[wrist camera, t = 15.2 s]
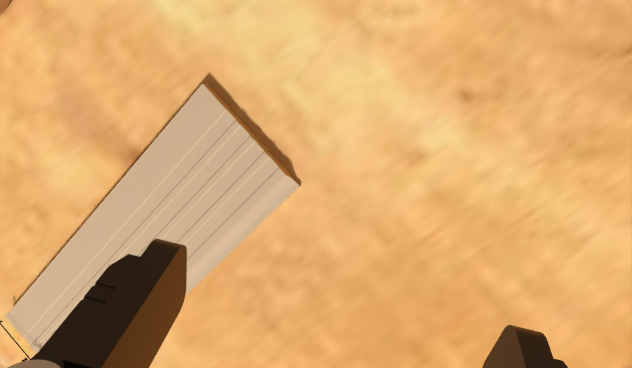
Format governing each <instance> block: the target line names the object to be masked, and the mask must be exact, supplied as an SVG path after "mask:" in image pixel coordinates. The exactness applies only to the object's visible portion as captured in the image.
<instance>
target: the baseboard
mask: <svg viewBox="0 0 632 368" xmlns="http://www.w3.org/2000/svg"><path fill="white" fill-rule="evenodd" d="M300 186H301V185H300V184H299V183H298V182H297V181H296V180H295V179H294V178H293V177H292V175H291V174H290V173H289V172H288V171H287V170H286V169H285V168H284V167H283V166H282V165H281V163H280V162H279V161H278V160H277V159H276V158H275V157H274V156H273V155H272V154H271V152H270V151H269V150H268V149H267V148H266V147H265V146H264V145H263V144H262V143H261V142H260V140H259V139H258V138H257V137H256V136H255V135H254V134H253V133H252V132H251V131H250V129H249V128H248V127H247V126H246V125H245V124H244V123H243V122H242V121H241V120H240V118H239V117H238V116H237V115H236V114H235V113H234V112H233V111H232V110H231V109H230V108H229V106H228V105H227V104H226V103H225V102H224V101H223V100H222V99H221V98H220V97H219V95H218V94H217V93H216V92H215V91H214V90H213V89H212V88H211V87H210V86H209V85H208V84H203V83H202V85H201V86H200V87H199V88H198V89H197V91H196V92H195V93H194V94H193V95H192V96H191V98H190V99H189V100H188V101H187V102H186V104H185V105H184V106H183V107H182V108H181V109H180V111H179V112H178V113H177V114H176V115H175V117H174V118H173V119H172V120H171V121H170V123H169V124H168V125H167V126H166V127H165V128H164V130H163V131H162V132H161V133H160V134H159V136H158V137H157V138H156V139H155V140H154V141H153V143H152V144H151V145H150V146H149V147H148V149H147V150H146V151H145V152H144V153H143V154H142V156H141V157H140V158H139V159H138V160H137V162H136V163H135V164H134V165H133V166H132V167H131V169H130V170H129V171H128V172H127V173H126V175H125V176H124V177H123V178H122V179H121V180H120V182H119V183H118V184H117V185H116V186H115V188H114V189H113V190H112V191H111V192H110V193H109V195H108V196H107V197H106V198H105V199H104V201H103V202H102V203H101V204H100V205H99V206H98V208H97V209H96V210H95V211H94V212H93V214H92V215H91V216H90V217H89V218H88V219H87V221H86V222H85V223H84V224H83V225H82V227H81V228H80V229H79V230H78V231H77V232H76V234H75V235H74V236H73V237H72V238H71V240H70V241H69V242H68V243H67V244H66V245H65V247H64V248H63V249H62V250H61V251H60V253H59V254H58V255H57V256H56V257H55V259H54V260H53V261H52V262H51V263H50V264H49V266H48V267H47V268H46V269H45V270H44V272H43V273H42V274H41V275H40V276H39V277H38V279H37V280H36V281H35V282H34V283H33V285H32V286H31V287H30V288H29V289H28V290H27V292H26V293H25V294H24V295H23V296H22V298H21V299H20V300H19V301H18V302H17V303H16V305H15V306H14V307H13V308H12V309H11V311H10V312H9V313H8V314H7V315H6V316H5V317H6V318H7V319H8V320H9V322H10V323H11V324H12V325H13V326H14V328H15V329H16V330H17V331H18V332H19V334H20V335H21V336H22V337H23V338H25V339H26V340H27V342H28V343H29V344H30V345H31V348H32V349H33V350H35V351H36V352H37V353H38V352H39V350H40V349H41V348H42V347H43V346H44V344H45V343H46V342H47V341H48V339H49V338H50V337H51V336H52V335H53V333H54V332H55V331H56V330H57V329H58V327H59V326H60V325H61V324H62V322H63V321H64V320H65V319H66V318H67V316H68V315H69V314H70V313H71V312H72V310H73V309H74V308H75V307H76V305H77V304H78V303H79V302H80V301H81V300H83V299H84V296H85V294H86V293H87V292H88V291H89V290H90V288H91V287H92V286H94V285H95V282H96V281H97V280H98V279H99V277H100V276H101V275H102V274H103V273H104V271H105V270H106V269H107V268H108V266H110V265H111V264H113V263H115V262H116V261H118V260H119V259H121V258H123V257H124V256H126V255H128V254H131V255H135V256H141V255H142V254H143V252H144V251H145V250H146V248H147V247H148V246H149V244H150V243H151V242H152V241H153V240H154V239H161V240H165V241H169V242H173V243H177V244H182V245H185V246H186V248H187V284H186V294H185V296H186V295H187V294H188V293H189V292H190V291H191V290H192V289H194V288H195V287H196V286H197V285H198V284H199V283H200V282H201V281H202V280H203V279H204V278H205V277H206V276H207V275H208V274H209V273H210V272H211V271H212V270H213V269H214V268H215V267H216V266H217V265H218V264H220V263H221V262H222V261H223V260H224V259H225V258H226V257H227V256H228V255H229V254H230V253H231V252H232V251H233V250H234V249H235V248H236V247H237V246H238V245H239V244H240V243H241V242H242V241H243V240H244V239H246V238H247V237H248V236H249V235H250V234H251V233H252V232H253V231H254V230H255V229H256V228H257V227H258V226H259V225H260V224H261V223H262V222H263V221H264V220H265V219H266V218H267V217H268V216H269V215H270V214H272V213H273V212H274V211H275V210H276V209H277V208H278V207H279V206H280V205H281V204H282V203H283V202H284V201H285V200H286V199H287V198H288V197H289V196H290V195H291V194H292V193H293V192H294V191H295V190H296V189H298V188H299V187H300ZM0 322H2V321H0ZM0 324H1V323H0ZM1 326H2V327H3V325H2V324H1ZM3 328H4V327H3ZM4 329H5V328H4ZM5 330H6V329H5ZM6 332H7V333H8V331H7V330H6ZM8 334H9V333H8ZM9 335H10V334H9ZM10 336H11V335H10ZM11 338H12V339H13V337H12V336H11ZM13 340H14V339H13ZM14 341H15V340H14ZM15 342H16V341H15ZM16 344H17V345H18V343H17V342H16ZM18 346H19V345H18ZM19 347H20V346H19ZM20 348H21V347H20ZM21 350H22V351H23V349H22V348H21ZM23 352H24V351H23ZM24 353H25V352H24ZM25 354H26V353H25ZM26 356H27V357H28V355H27V354H26ZM28 358H29V357H28ZM29 359H30V358H29ZM25 360H28V359H27V358H25ZM25 360H22V362H24V361H25Z"/></svg>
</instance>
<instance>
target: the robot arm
mask: <svg viewBox="0 0 632 368" xmlns="http://www.w3.org/2000/svg"><path fill="white" fill-rule="evenodd" d="M10 1H11V0H0V14H1V13H2V12H3V11H4V10H5V9H6V8H7V6H8V5H9V3H10ZM186 284H187V248H186V246H185V245H182V244H177V243H173V242H169V241H165V240H161V239H154V240H153V241H152V242H151V243H150V244H149V246H148V247H147V248H146V250H145V251H144V252H143V254H142V255H141V256H135V255H131V254H128V255H126V256H124V257H123V258H121V259H119V260H118V261H116V262H115V263H113V264H111V265H110V266H108V268H107V269H106V270H105V271H104V273H103V274H102V275H101V276H100V277H99V279H98V280H97V281H96V282H95V285H94V286H92V287H91V288H90V290H89V291H88V292H87V293H86V294H85V296H84V299H83V300H81V301H80V302H79V303H78V304H77V305H76V307H75V308H74V309H73V310H72V312H71V313H70V314H69V315H68V316H67V318H66V319H65V320H64V321H63V322H62V324H61V325H60V326H59V327H58V329H57V330H56V331H55V332H54V333H53V335H52V336H51V337H50V338H49V339H48V341H47V342H46V343H45V344H44V346H43V347H42V348H41V349H40V350H39V352H38V353H37V354H36V355H35V356H34V357H33V358H32V359H30V360H28V361H24V362H20V363H17V364H15V365H12V366H10V367H8V368H149V366H150V365H151V363H152V361H153V359H154V357H155V356H156V354H157V352H158V350H159V348H160V346H161V345H162V343H163V341H164V339H165V337H166V336H167V334H168V332H169V330H170V328H171V327H172V325H173V323H174V321H175V319H176V318H177V316H178V314H179V312H180V310H181V307H182V305H183V302H184V299H185V294H186ZM482 368H568V367H567V366H566V365H565V363H564V362H563V361H561V360H557V359H553V356H552V353H551V350H550V347H549V344H548V341H547V339H546V337H545V335H544V334H543V333H541V332H537V331H533V330H529V329H525V328H520V327H516V326H512V325H508V326H507V327H506V328H505V329H504V330H503V332H502V334H501V335H500V337H499V339H498V340H497V342H496V344H495V345H494V347H493V349H492V350H491V352H490V354H489V355H488V357H487V359H486V360H485V362H484V364H483V367H482Z"/></svg>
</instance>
